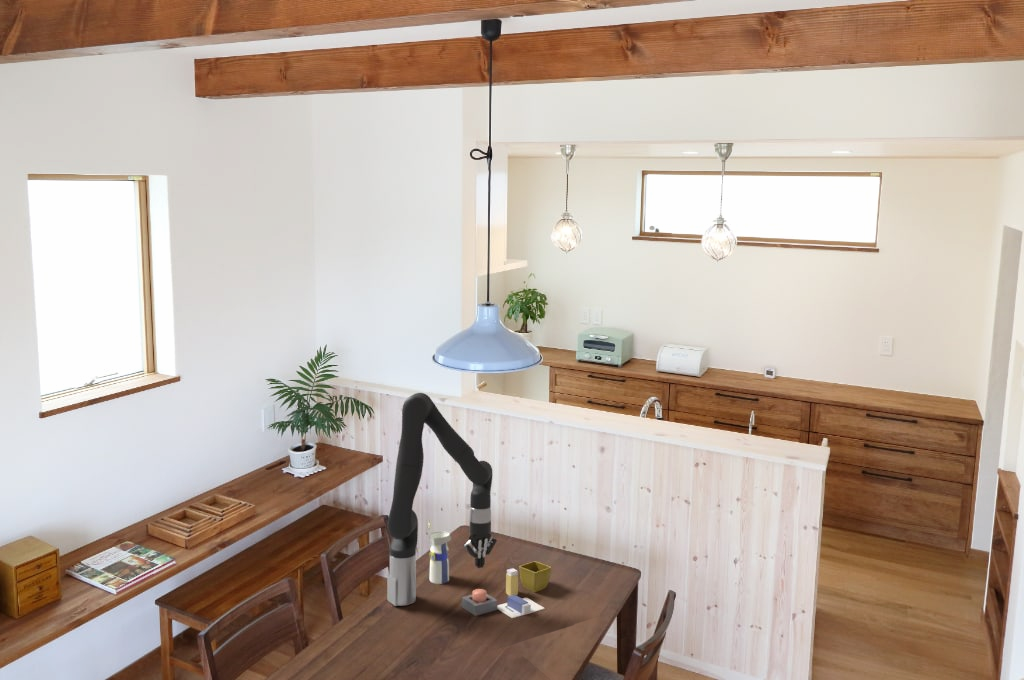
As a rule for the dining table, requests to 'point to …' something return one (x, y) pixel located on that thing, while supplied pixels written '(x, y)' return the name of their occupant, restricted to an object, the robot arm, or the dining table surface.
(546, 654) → the dining table surface
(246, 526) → the dining table surface
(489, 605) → the button housing
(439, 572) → the water bottle
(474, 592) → the button
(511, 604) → the block
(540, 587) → the flower pot
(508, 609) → the paper pad
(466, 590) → the dining table surface
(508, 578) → the ochre marker
